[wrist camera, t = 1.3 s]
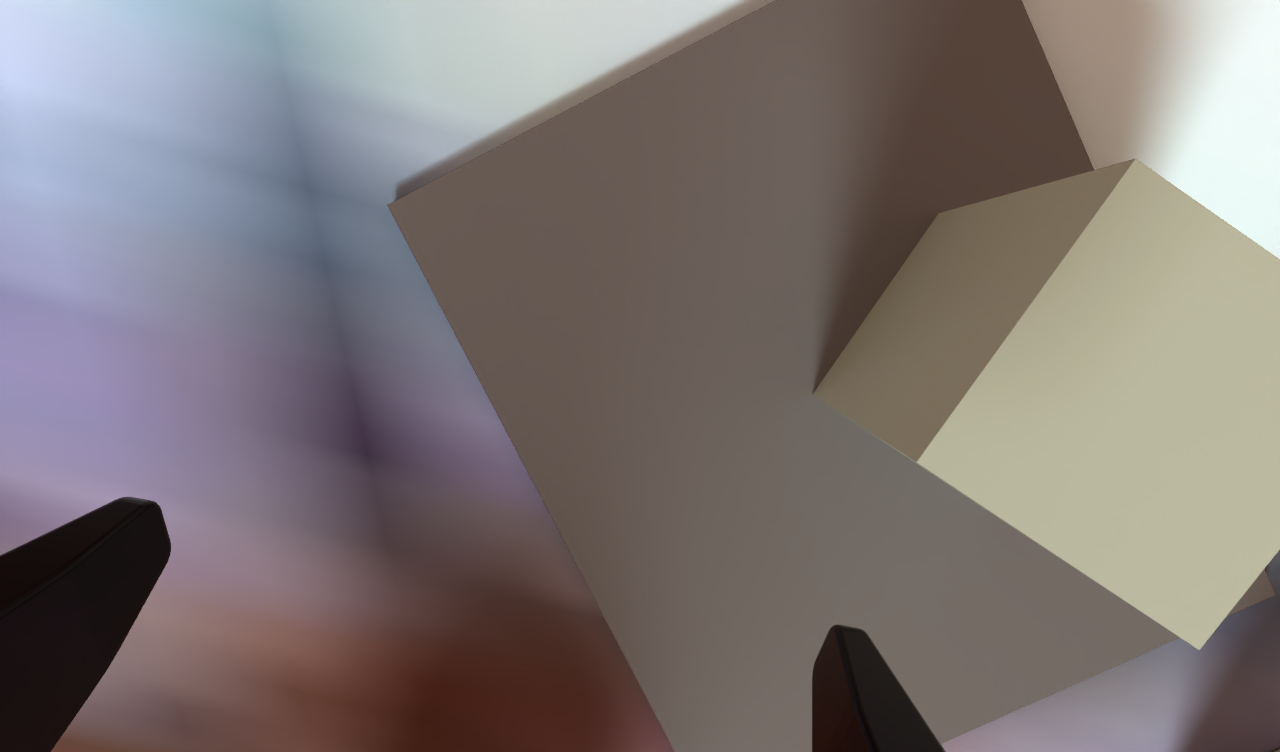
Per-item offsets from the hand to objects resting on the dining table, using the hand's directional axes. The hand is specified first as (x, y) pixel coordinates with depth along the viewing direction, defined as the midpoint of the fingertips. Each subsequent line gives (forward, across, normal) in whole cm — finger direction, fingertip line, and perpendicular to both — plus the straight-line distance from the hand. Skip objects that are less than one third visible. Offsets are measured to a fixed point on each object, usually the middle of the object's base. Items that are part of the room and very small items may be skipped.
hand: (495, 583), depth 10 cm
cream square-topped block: (+14, -11, +3) cm, 19 cm away
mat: (+14, -8, +5) cm, 17 cm away
